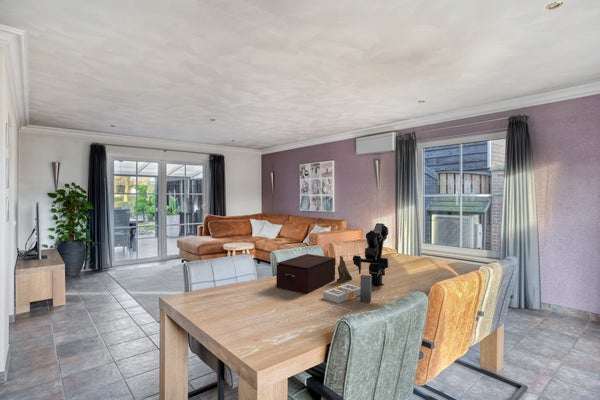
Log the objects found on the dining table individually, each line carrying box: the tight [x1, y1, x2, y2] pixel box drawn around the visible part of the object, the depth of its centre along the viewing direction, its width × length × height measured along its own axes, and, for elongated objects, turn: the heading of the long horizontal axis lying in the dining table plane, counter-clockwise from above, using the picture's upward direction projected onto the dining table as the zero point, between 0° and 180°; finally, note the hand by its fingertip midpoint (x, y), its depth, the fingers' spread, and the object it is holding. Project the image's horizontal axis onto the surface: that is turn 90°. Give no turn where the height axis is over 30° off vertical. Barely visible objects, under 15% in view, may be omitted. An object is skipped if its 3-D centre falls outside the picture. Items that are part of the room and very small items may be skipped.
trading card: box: [313, 305, 353, 324], centre depth 149 cm, size 11×1×18 cm
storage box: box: [275, 253, 336, 295], centre depth 197 cm, size 39×23×15 cm, turn 148°
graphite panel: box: [359, 274, 372, 304], centre depth 166 cm, size 3×5×13 cm, turn 67°
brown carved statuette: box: [335, 255, 353, 284], centre depth 204 cm, size 12×6×18 cm, turn 131°
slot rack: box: [322, 283, 360, 304], centre depth 174 cm, size 22×12×4 cm, turn 135°
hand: (368, 274), depth 172 cm, fingers open, 9 cm apart
